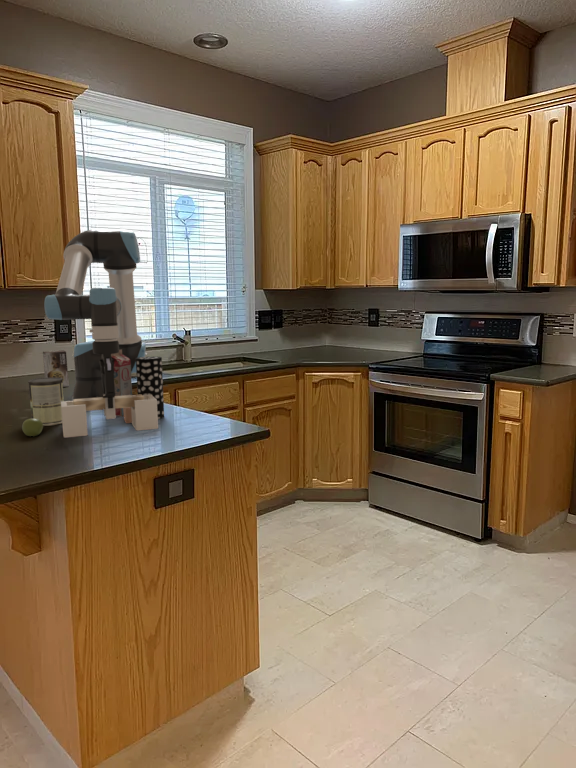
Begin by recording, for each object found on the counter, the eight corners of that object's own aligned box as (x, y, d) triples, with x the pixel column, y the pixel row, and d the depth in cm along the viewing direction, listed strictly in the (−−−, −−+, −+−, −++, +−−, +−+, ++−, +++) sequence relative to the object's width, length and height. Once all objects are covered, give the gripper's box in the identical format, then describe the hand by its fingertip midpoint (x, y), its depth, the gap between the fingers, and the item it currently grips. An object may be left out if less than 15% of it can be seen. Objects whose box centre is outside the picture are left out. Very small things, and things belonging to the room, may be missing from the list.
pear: (20, 419, 168) (24, 418, 177) (21, 437, 168) (25, 435, 177) (41, 417, 169) (44, 416, 179) (42, 436, 169) (45, 434, 179)
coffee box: (66, 384, 270) (63, 349, 267) (69, 386, 264) (66, 351, 262) (45, 386, 265) (42, 351, 262) (47, 388, 260) (45, 352, 257)
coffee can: (25, 423, 189) (21, 380, 187) (55, 417, 197) (52, 376, 194) (41, 427, 182) (38, 382, 180) (72, 421, 190) (69, 378, 188)
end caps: (63, 437, 169) (61, 407, 167) (62, 430, 177) (60, 401, 176) (158, 428, 179) (156, 399, 178) (152, 422, 188) (151, 394, 186)
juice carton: (133, 412, 204) (129, 349, 201) (122, 416, 198) (118, 351, 194) (116, 411, 206) (113, 349, 203) (105, 415, 200) (101, 351, 196)
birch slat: (74, 411, 171) (74, 401, 171) (73, 409, 175) (73, 399, 175) (144, 406, 179) (143, 396, 178) (141, 403, 183) (141, 394, 183)
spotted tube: (134, 417, 196) (130, 358, 193) (155, 413, 201) (152, 355, 198) (147, 421, 190) (144, 359, 187) (169, 417, 196) (166, 357, 192)
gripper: (90, 338, 181) (94, 412, 184) (94, 342, 164) (99, 423, 168) (115, 337, 184) (119, 410, 187) (122, 341, 167) (126, 421, 171)
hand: (109, 416), depth 178 cm, fingers open, 5 cm apart
